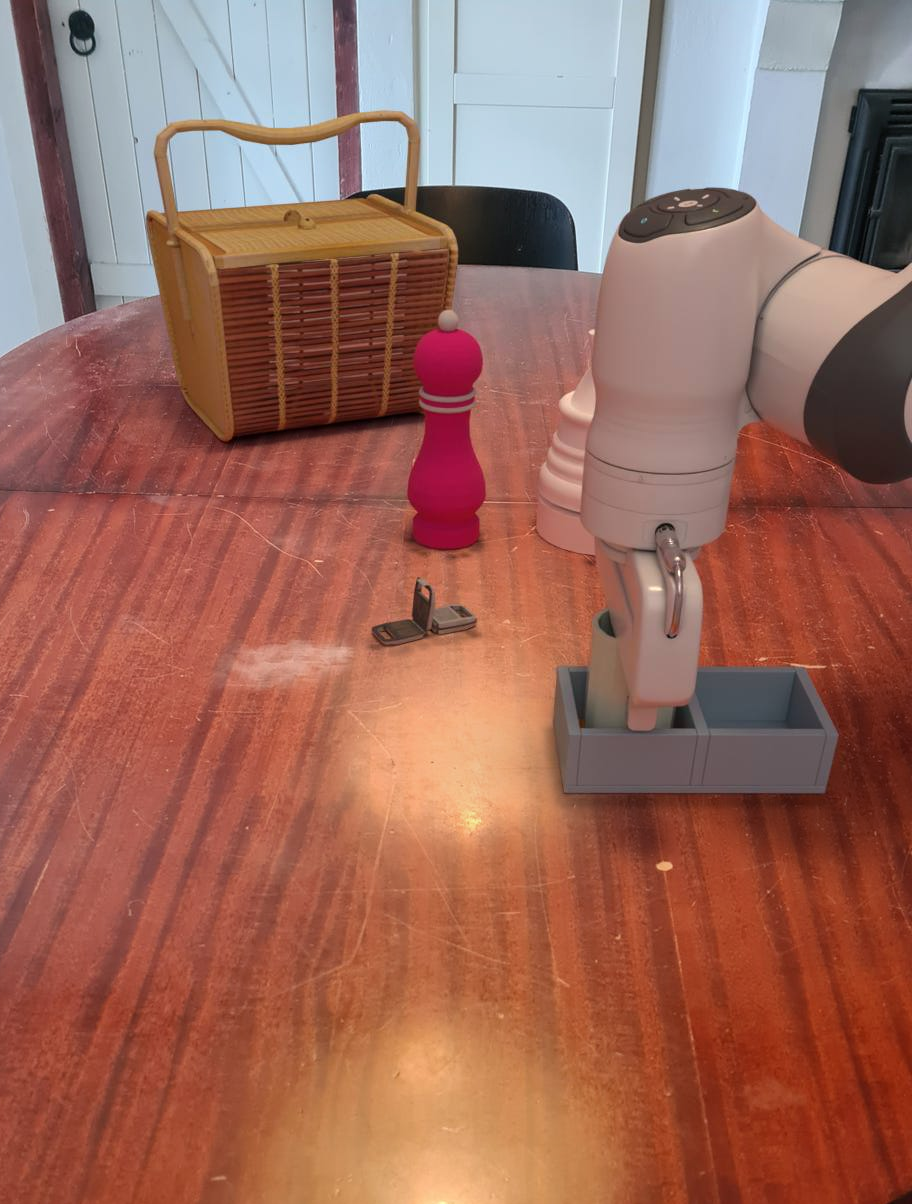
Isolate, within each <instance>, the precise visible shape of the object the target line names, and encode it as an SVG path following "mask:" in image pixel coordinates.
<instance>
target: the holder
mask: <svg viewBox="0 0 912 1204" xmlns="http://www.w3.org/2000/svg"><path fill="white" fill-rule="evenodd" d="M587 669H588V665H557V666H556V675H555V687H554V688H555V689H554V701H553V702H554V703H553V715H552V725H553V731H554V737H555V745H556V750H557V757H558V764H559V770H560V776H561V782H562V783H561V784H562V790H563V794H826V790H827V785H828V781H829V777H830V773H831V770H832V765H833V761H834V757H835V752H836V748H837V744H838V741H839V736H840V735H839V733H838V730H837V728H836V726H835V724H834V722H833V721H832V719H831V717H830V715H829V713H828V711H827V709H826V707H825V704H824V702H823V701H822V699H821V697H820V695H819V693H818V691H817V688H816V687H815V684H814V683H813V681H812V679H811V677H810V675H809V673H808V670H807V669H806V667H805V666H733V665H732V666H722V665H721V666H718V665H717V666H711V665H710V666H704V665H703V666H702V665H701V666H699V665H698V669H697V678H696V686H695V691H694V694H693V696H692V698H691V700H690V702H689V703H688V704H687V705H685V706H677V707H676V711H675V718H674V725H673V729H652V730H649V731H632V730H631V729H629V728H582V725H583V714H584V703H585V691H586V680H587Z"/></svg>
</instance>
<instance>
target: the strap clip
mask: <svg viewBox="0 0 912 1204" xmlns="http://www.w3.org/2000/svg"><path fill="white" fill-rule="evenodd" d="M422 587H423V588H425V589H426V590H428V592H429V593H428V594H429V595H428V597H427V596H426V595H424V593H422V592H423V591H422V589H423V588H422ZM413 590H414V591H413V597H412V598H413V599H412V609H411V618H412V619H411V618H407V619H401V620H395V621H390V622H385V623H381V624H377V625H374V626H372V627H371V633H372V634H373V635H374V636H375V637H376V638H377V639H378V640H379V641H380V642H381V643H382V644H384V645H401V644H405V643H409V642H413V641H416V640H421V639H423V638H424V635H425V636H426V633H428V632H429V631H430V630H431V631H432V632H433V633H434V634H438V635H444V634H450V633H454V632H461V631H466V630H467V629H470V628H472V627H475V626H476V624H477V623H478V618H477V616H476V614H474V613H473V612H472V610H470V609H469V608H467V606H465V605H463V604H447V605H443V606H438V607H436V594H435V593H436V592H435V588H434V587H433V585H431V584H430V583H428V582H427V581H426V580H425V579H424V578H423V577H421V576H418V577H417V578H416V581H415V585H414V589H413ZM461 615H462V616H464V617H462V616H461ZM386 631H387V633H388V634H389V635H390V636H392V637H391V638H385V637H384V635H382V633H381V632H386Z"/></svg>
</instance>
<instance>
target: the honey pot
mask: <svg viewBox="0 0 912 1204" xmlns="http://www.w3.org/2000/svg"><path fill="white" fill-rule="evenodd" d="M594 332H595V328H593V329H590V330H589V331H588V342H589V346H590V348H591V350H592V351H593V342H594ZM591 368H592V363H591V364H590V365H589V366H588V368H587V369H586V371H585V373H584V374H583V376H582V377H581V378H580V381H579V383H578V384H577V386H576V388H575V389H574V390H571V391H569V392H568V393H565V394H564V395H563V396H562V397H561V398H560V399H559V400H558V406H557V407H558V408H557V409H558V412H559V413H560V415H561V416H562V417H561V420H560V422H559V425H558V427H557V429H556V430H555V432H554V433H553V434H552V442H551V446H550V447H549V448H548V450H547V454H546V460H545V461H544V462H543V463H542V464H541V466H540V469H539V474H538V489H537V491H538V492H537V502H536V503H537V504H536V506H537V507H536V523H535V530H536V532H537V533H538V535H539V537H541V538H542V539H543V540H544V541H545V542H547V543H548V544H550V545H553V546H555V547H557V548H558V549H562V550H565V551H569V552H572V553H576V554H582V555H588V556H589V555H590V556H595V544H594V535H592V534H591V533H589V532H588V531H587V530H586V529H585V528H584V527H583V525H582V524H581V521H580V507H581V494H582V481H583V468H584V455H585V443H586V436H587V432H588V429H589V426H590V424H591V421H592V418H593V415H594V410H595V401H596V397H595V386H594V382H593V377H592V369H591Z"/></svg>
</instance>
